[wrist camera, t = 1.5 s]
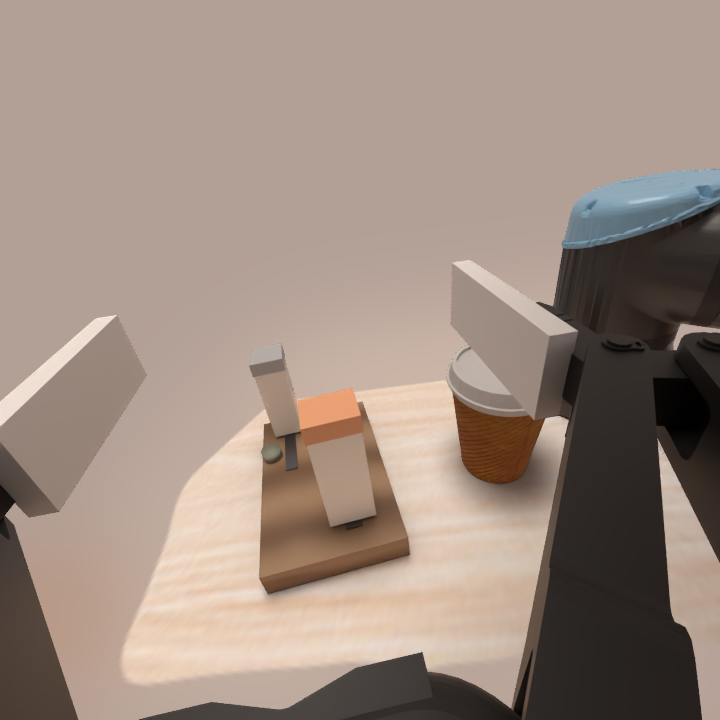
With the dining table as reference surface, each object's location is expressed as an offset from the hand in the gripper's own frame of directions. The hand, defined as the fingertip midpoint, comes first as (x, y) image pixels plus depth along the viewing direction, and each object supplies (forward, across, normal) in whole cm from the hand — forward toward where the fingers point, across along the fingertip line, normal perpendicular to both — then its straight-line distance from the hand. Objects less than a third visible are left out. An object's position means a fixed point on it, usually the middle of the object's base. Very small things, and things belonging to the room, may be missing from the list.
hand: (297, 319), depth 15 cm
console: (+12, -2, -24) cm, 27 cm away
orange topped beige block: (+7, 0, -22) cm, 23 cm away
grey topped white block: (+20, -5, -22) cm, 30 cm away
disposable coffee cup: (+11, +16, -24) cm, 31 cm away
